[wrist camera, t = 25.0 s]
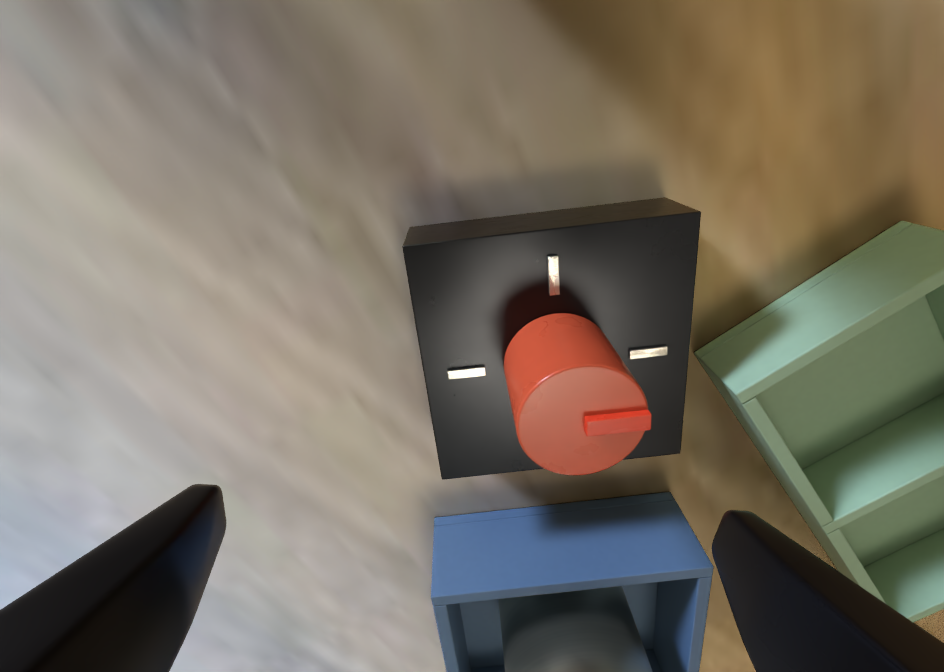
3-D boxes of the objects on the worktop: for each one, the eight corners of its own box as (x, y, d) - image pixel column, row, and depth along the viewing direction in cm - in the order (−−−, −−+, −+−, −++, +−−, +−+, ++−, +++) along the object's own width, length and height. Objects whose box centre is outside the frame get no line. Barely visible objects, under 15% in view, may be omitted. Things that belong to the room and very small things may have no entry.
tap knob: (507, 412, 19) (521, 489, 15) (499, 318, 18) (513, 377, 14) (609, 401, 19) (649, 475, 15) (610, 306, 17) (657, 362, 14)
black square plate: (409, 226, 19) (401, 247, 16) (665, 197, 19) (703, 212, 16) (443, 437, 23) (441, 482, 20) (653, 413, 23) (682, 456, 20)
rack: (692, 352, 22) (735, 394, 19) (901, 219, 20) (990, 240, 16) (839, 572, 28) (890, 633, 25) (1009, 490, 26) (1089, 544, 23)
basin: (434, 517, 25) (430, 597, 21) (670, 491, 25) (714, 566, 21) (461, 665, 30) (463, 753, 26) (658, 644, 30) (691, 729, 26)
